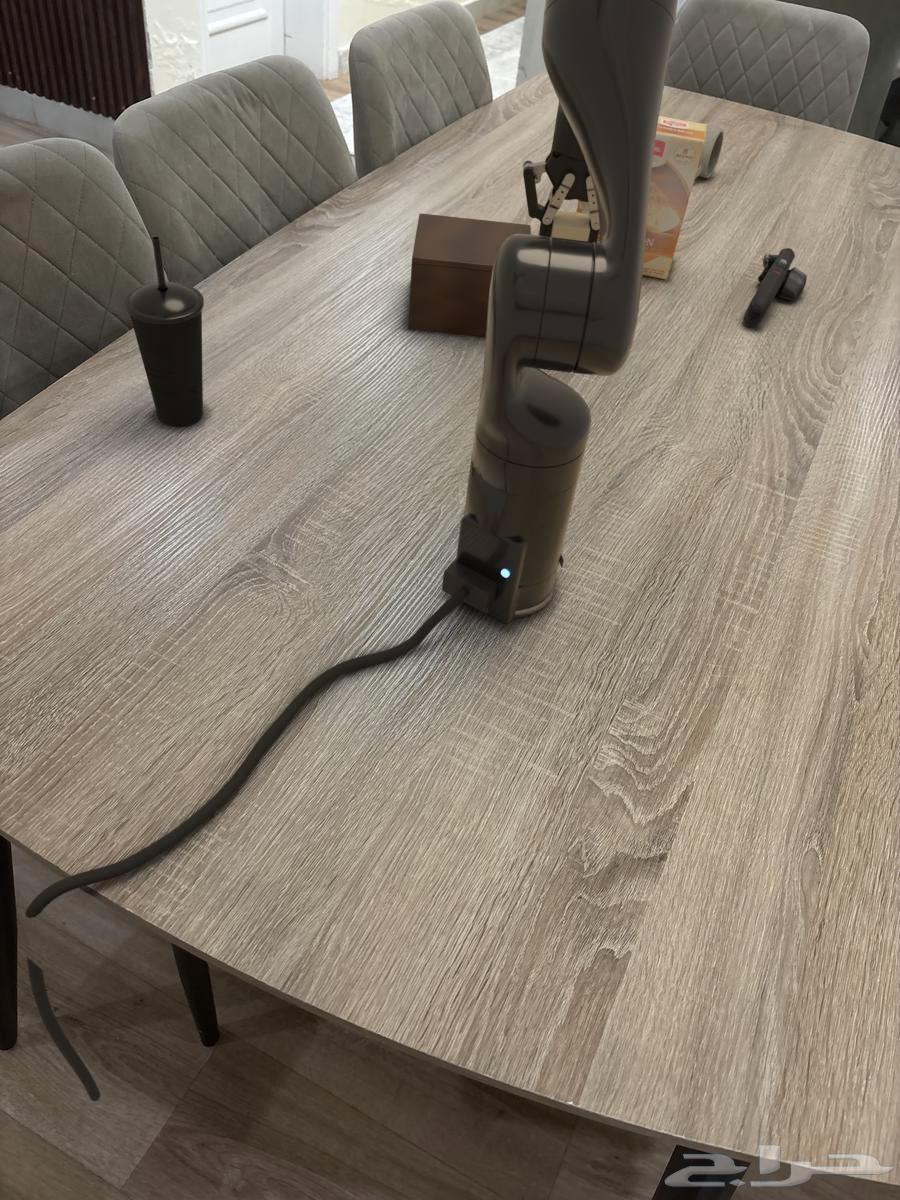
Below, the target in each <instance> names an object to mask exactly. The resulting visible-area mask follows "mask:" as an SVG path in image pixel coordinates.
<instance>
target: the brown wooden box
mask: <svg viewBox="0 0 900 1200" xmlns="http://www.w3.org/2000/svg"><path fill="white" fill-rule="evenodd" d="M514 234H531V235H532V225H530V224H524V223H516V222H505V221H496V220H486V219H478V218H469V217H458V216H448V215H439V214H431V213H430V214H429V213H422V212H421V213H419V214H418V219H417V225H416V232H415V237H414V238H415V239H414V244H413V248H412V249H413V250H412V255H411V266H410V267H411V268H410V284H409V285H410V286H409V301H408V318H407V320H408V321H407V329H408V330H415V331H426V332H437V333H446V334H457V335H464V336H466V335H467V336H476V337H485V338H486V325H487V308H488V297H489V287H490V280H491V275H492V269H493V265H494V261H495V258H496V255H497V253H498V250H499V249H500V247H501V245H502V243H503V242H504V241H505V240H506V239H507V238H508V237H510V236H511V235H514Z"/></svg>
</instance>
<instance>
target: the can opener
mask: <svg viewBox="0 0 900 1200" xmlns="http://www.w3.org/2000/svg"><path fill="white" fill-rule="evenodd" d="M795 258H796V254H795V252H794V250H793V249H792V248H790V247H785V248H783V249H781V250H780V251H779V253H778V254H771V253H768V254H767V253H764V256H763V258H761V261H762V266H763V270H762V272H761V273H760V275H759V276H758V277H757V281H758V283H759V286H758V287H757V290H756V292H755V294H754V296H753V297H752V299H751V300H750V302H749V304H748V306H747V308H746V310H745V313H744V316H743V321H744V324H745V325H746V326H748V327H752V328H753V327H757V326H758V325H759V324H760V322H761V321H762V320H763V318H764V317H765V315H766V313H767V311H768V309H769V308H770V306H771V304H772V302H773V300H774V298H775V297H776V295H777V296H778V297H779V298H783V299H786V300H789V301H795V300H796V299H797V298H798V297H799V296H800V295H801V294H802V293H803V291H804V289H805V287H806V284H807V279H808V278H807V277H808V276H807V274H805V273H804V272H803V271H801V270H800V269H798V268H797V267H795V266H793V267H792V268H791V269H790V267H791V265H792V263H793V261H794V259H795Z"/></svg>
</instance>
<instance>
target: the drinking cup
mask: <svg viewBox="0 0 900 1200" xmlns="http://www.w3.org/2000/svg"><path fill="white" fill-rule="evenodd" d="M160 239H161V238H160V237H159V236H152V238H151V242H152V247H153V256H154V262H155V268H156V269H155V270H156V276H157V282H156V281H154V282H150V283H145V284H142V285H140V286H136V287H134V288H133V289H132V290H130V291H129V292H128V293H127V294H126V296H125V298H124V300H123V301H124V309H125V310H126V312H127V314H128V315H129V316H130V321H131V323H132V327H133V332H134V334H135V339H136V342H137V346H138V349H139V352H140V353H139V354H140V357H141V359H142V364H143V367H144V368H143V369H144V371H145V375H146V379H147V383H148V386H149V389H150V393H151V396H152V397H151V398H152V400H153V404H154V407H155V411H156V415H157V418H158V420H159V421H160V422H161V423H162V424H164V425H167V426H169V427H174V428H183V427H189V426H192V425H194V424H197V423H198V422H199V421H201V419H202V418H203V416H204V393H203V392H204V391H203V390H204V388H203V387H204V385H203V383H204V382H203V381H204V380H203V317H202V316H203V312H202V311H203V309H204V307H205V299H204V295H203V294H202V293H201V291H200V290H198V289H197V288H195V287H194V286H191V285H189V284H186V283H182V282H177V281H166V277H165V269H164V262H163V255H162V247H161V240H160Z"/></svg>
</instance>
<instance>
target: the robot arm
mask: <svg viewBox="0 0 900 1200" xmlns="http://www.w3.org/2000/svg"><path fill="white" fill-rule="evenodd" d="M678 3H679V0H545V3H544V11H543V18H542V26H541V35H540V37H541V39H540V40H541V41H540V43H541V45H540V46H541V53H542V59H543V62H544V65H545V69H546V72H547V74H548V77H549V80H550V83H551V86H552V87H553V90H554V92H555V95H556V97H557V100H558V105H557V112H556V118H555V124H554V130H553V137H552V143H551V149H550V152H549V154H548V155H547V157H545V160H544V161H540V162H538V161H537V162H532V161H531V160H525V161H524V162H523V164H522V175H523V183H524V191H525V197H526V206H527V213H528V216H529V218H531V219H537V220H538V221H539V222H540V224H539V225H540V226H539V230H538V234H532V233H531V234H514V235H511V236H510V237H508V238H507V239H506V240H505V241H504V242H503V243H502V245H501V247H500V249H499V250H498V253H497V255H496V258H495V261H494V265H493V269H492V275H491V280H490V287H489V297H488V308H487V325H486V337H485V343H484V357H483V369H482V377H481V386H480V393H479V400H478V406H477V413H476V419H475V426H474V427H475V429H474V435H473V443H472V451H471V456H470V465H469V471H468V472H469V474H468V481H467V489H466V497H465V503H464V512H463V516H462V518H461V519H460V524H459V531H458V532H459V533H458V540H457V548H456V555H455V556H456V558H455V560H454V561H453V562H452V563H450V564H449V565H448V566H447V568H446V569H444V571H443V577H442V578H443V579H442V588H441V591H442V592H444V593H446V594H448V595H450V598H449V599H447V600H446V601H445V602H444V603H443V604H442V605H441V606H440V607H438V608H437V610H436V611H435V612H434V613H432V614H431V616H430V617H428V618H427V619H426V620H425V622H423V624H421V626H420V627H419V628H418V630H416V631H415V632H414V634H413V635H412V636H411V637H409V638H408V639H405V640H404V641H403V642H401V643H400V644H398V645H395V646H393V647H390V648H388V649H385V650H381V651H378V652H374V653H370V654H364V655H360V656H357V657H353V658H350V659H347V660H344V661H341V662H340V663H337V664H335V665H334V666H332V667H329V668H328V669H327V670H325V671H324V672H322V673H321V674H318V676H317V677H315V678H314V679H313V680H311V681H310V683H308V684H307V685H306V686H304V687H303V689H302V690H301V691H299V693H298V694H297V695H296V696H295V697H294V698H293V699H292V700H291V702H289V704H287V706H286V708H285V709H284V710H283V711H282V712H281V714H279V715H278V717H277V718H275V720H274V721H273V722H272V724H271V725H269V727H268V728H267V729H266V730H265V731H264V733H262V735H261V736H260V738H259V739H258V740H257V741H256V743H255V744H254V746H253V747H252V749H251V750H250V751H249V753H248V754H247V755H246V757H245V759H244V760H243V761H242V763H241V764H240V765H239V767H238V768H237V770H236V771H235V772H234V774H232V776H231V777H230V779H229V780H228V781H227V782H226V783H225V784H224V785H223V786H222V787H221V789H219V791H217V792H216V793H215V794H214V795H213V796H212V797H211V798H210V799H209V800H208V801H207V802H206V803H204V805H203V806H201V807H200V808H199V809H198V810H197V811H196V812H194V813H193V814H192V815H191V816H190V817H188V818H187V819H186V820H185V821H183V822H182V823H180V824H179V825H178V826H177V827H175V828H174V829H172V830H171V831H169V832H168V833H167V834H165V835H164V836H162V837H161V838H159V839H158V840H156V841H154V842H153V843H151V844H149V845H147V846H146V847H144V848H142V849H140V850H139V851H137V852H135V853H134V854H132V855H130V856H128V857H126V858H124V859H121V860H119V861H117V862H114V863H110V864H108V865H104V866H102V867H98V868H97V867H96V868H93V869H90V870H87V871H83V872H80V873H76V874H73V875H70V876H67V877H65V878H62V879H60V880H58V881H56V882H54V883H52V884H51V885H49V886H47V887H46V888H45V889H43V891H41V892H40V893H39V894H37V895H36V896H35V898H33V900H32V901H31V902H30V904H29V905H28V907H27V908H26V910H25V912H24V914H25V917H26V918H29V919H31V918H32V919H33V918H36V917H37V916H38V915H40V914H41V913H42V912H43V910H45V908H46V907H47V906H48V905H49V904H51V903H52V902H53V901H54V900H56V899H57V898H59V897H60V896H62V895H65V894H66V893H69V892H72V891H75V890H77V889H79V887H80V888H83V887H86V886H89V885H93V884H97V883H100V882H104V881H108V880H111V879H114V878H116V877H119V876H122V875H125V874H126V873H129V872H131V871H133V870H134V869H137V868H139V867H140V866H142V865H144V864H146V863H147V862H150V861H151V860H152V859H155V858H156V857H158V856H159V855H160V854H162V853H164V852H166V851H167V850H169V849H170V848H172V847H173V846H174V845H176V844H178V843H179V842H180V841H182V840H183V839H184V838H186V837H187V836H188V835H190V834H191V833H192V832H194V831H195V830H196V829H197V828H199V827H200V826H201V825H202V824H204V822H205V821H207V820H208V819H209V818H210V817H211V816H212V815H213V814H215V812H217V810H219V808H221V807H222V806H224V804H225V803H226V802H227V801H228V800H229V799H230V798H231V797H232V796H233V794H235V792H237V790H238V789H239V788H240V786H241V785H242V784H243V783H244V781H245V780H246V778H248V776H249V775H250V773H251V772H252V770H253V769H254V767H255V766H256V765H257V763H258V761H259V760H260V759H261V757H262V756H263V754H265V751H266V750H267V749H268V747H269V746H270V744H272V742H273V741H274V740H275V739H276V738H277V736H279V734H280V733H281V732H282V731H283V730H284V729H285V728H286V726H287V725H288V724H289V722H290V721H291V720H292V719H293V718H294V716H296V714H298V712H299V711H300V710H301V708H302V707H303V706H304V705H305V704H306V703H307V702H308V701H309V699H311V697H313V695H315V694H316V693H317V692H318V691H319V690H320V689H322V688H323V687H325V686H326V685H328V684H329V683H330V682H331V681H333V680H334V679H336V678H338V677H340V676H341V675H343V674H346V673H348V672H351V671H354V670H356V669H360V668H365V667H369V666H372V665H376V664H380V663H385V662H387V661H391V660H393V659H396V658H399V657H401V656H403V655H405V654H407V653H409V652H410V651H412V650H413V649H415V648H417V646H419V645H420V644H421V643H422V642H423V641H424V640H425V639H426V638H427V637H428V635H430V633H431V632H432V631H433V630H434V628H436V627H437V626H438V624H440V623H441V622H442V621H443V620H444V619H445V618H446V617H447V616H448V615H449V614H450V613H451V612H452V611H453V610H454V609H456V608H457V606H458V605H460V604H461V603H462V602H463V603H465V604H467V605H469V606H470V607H472V608H473V609H475V610H478V611H480V612H481V613H483V614H486V615H488V616H490V617H491V618H494V619H496V620H498V621H500V623H503V624H506V625H507V624H509V623H510V622H511V621H512V620H513V619H515V618H522V617H527V616H530V615H533V614H535V613H537V612H539V611H540V610H542V609H543V608H545V607H546V606H547V605H548V604H549V602H550V601H551V600H552V597H553V594H554V590H555V585H556V576H557V573H558V569H559V565H560V567H561V569H563V565H564V561H565V560H564V557H563V555H562V551H563V546H564V542H565V538H566V534H567V529H568V525H569V522H570V521H569V520H570V517H571V512H572V508H573V504H574V499H575V495H576V491H577V486H578V482H579V479H580V478H579V477H580V473H581V470H582V466H583V462H584V458H585V457H584V456H585V453H586V448H587V445H588V441H589V437H590V436H589V435H590V431H591V426H592V414H591V410H590V407H589V405H588V403H587V402H586V400H585V399H584V398H583V397H582V396H581V394H580V393H579V392H578V391H577V390H575V389H574V388H573V387H571V386H570V385H568V384H567V383H565V382H564V381H561V380H559V379H557V378H556V377H553V376H552V375H550V374H548V373H546V372H545V371H543V370H546V371H553V372H559V373H560V372H561V373H567V374H568V373H571V374H572V373H573V374H577V375H586V376H587V375H588V376H597V377H611V376H613V375H615V374H617V373H618V372H620V371H621V369H622V368H623V367H624V365H625V363H626V362H627V359H628V358H629V355H630V352H631V349H632V346H633V344H634V343H633V342H634V337H635V335H636V330H637V325H638V319H639V312H640V304H641V302H640V301H641V293H642V283H643V275H642V274H643V262H644V250H645V239H646V227H647V215H648V203H649V192H650V180H651V170H652V161H653V152H654V145H655V138H656V131H657V125H658V119H659V116H660V112H661V105H662V101H663V95H664V89H665V82H666V79H667V72H668V66H669V60H670V59H669V58H670V54H671V49H672V43H673V37H674V32H675V24H676V19H677V18H676V17H677V10H678ZM544 173H546V175H547V176H548V179H549V180H550V183H551V185H552V188H551V190H550V192H549V194H548V198H547V199H546V202H545V204H544V205H542V204H540V203H539V201H538V192H537V184H539V183H541V181H542V176H543V174H544ZM574 200H578V201H582V202H588V203H589V211H590V221H589V225H590V233H589V238H588V242H587V241H579V240H571V239H563V238H555V237H551V231H552V220H553V219H554V217H555V215H556V213H557V211H559V210H560V209H561V207H562V204H563V202H564V201H574ZM599 230H600V243H597V239H598V234H599ZM26 963H27V969H28V971H27V972H28V977H29V978H28V979H29V983H30V986H31V992H32V995H33V998H34V1002H35V1005H36V1008H37V1010H38V1013H39V1016H40V1018H41V1020H42V1022H43V1025H44V1027H45V1029H46V1030H47V1033H48V1035H49V1036H50V1038H51V1039H52V1041H53V1042H54V1044H55V1046H56V1047H57V1049H58V1050H59V1052H60V1053H61V1054H62V1056H63V1057H64V1059H65V1060H66V1061H67V1063H68V1065H69V1066H70V1068H71V1069H72V1070H73V1071H74V1073H75V1075H76V1076H77V1077H78V1079H79V1081H80V1082H81V1084H82V1085H83V1087H84V1089H85V1091H86V1093H87V1095H88V1097H89V1099H90V1101H92V1102H97V1101H99V1099H100V1098H101V1091H100V1089H99V1087H98V1085H97V1083H96V1081H95V1079H94V1077H93V1076H92V1074H91V1072H90V1071H89V1069H88V1067H87V1066H86V1064H85V1062H84V1061H83V1059H82V1058H81V1057H80V1054H78V1052H77V1051H76V1048H74V1046H73V1044H72V1043H71V1042H70V1040H69V1038H68V1037H67V1035H66V1034H65V1032H64V1030H63V1029H62V1027H61V1025H60V1023H59V1021H58V1019H57V1017H56V1015H55V1012H54V1010H53V1008H52V1005H51V1002H50V999H49V996H48V992H47V987H46V983H45V978H44V972H43V969H42V968H41V967H40V966H39V965H38V964H37V963H35V962H34V961H33V960H31V958H29V957H28V956H26Z"/></svg>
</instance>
